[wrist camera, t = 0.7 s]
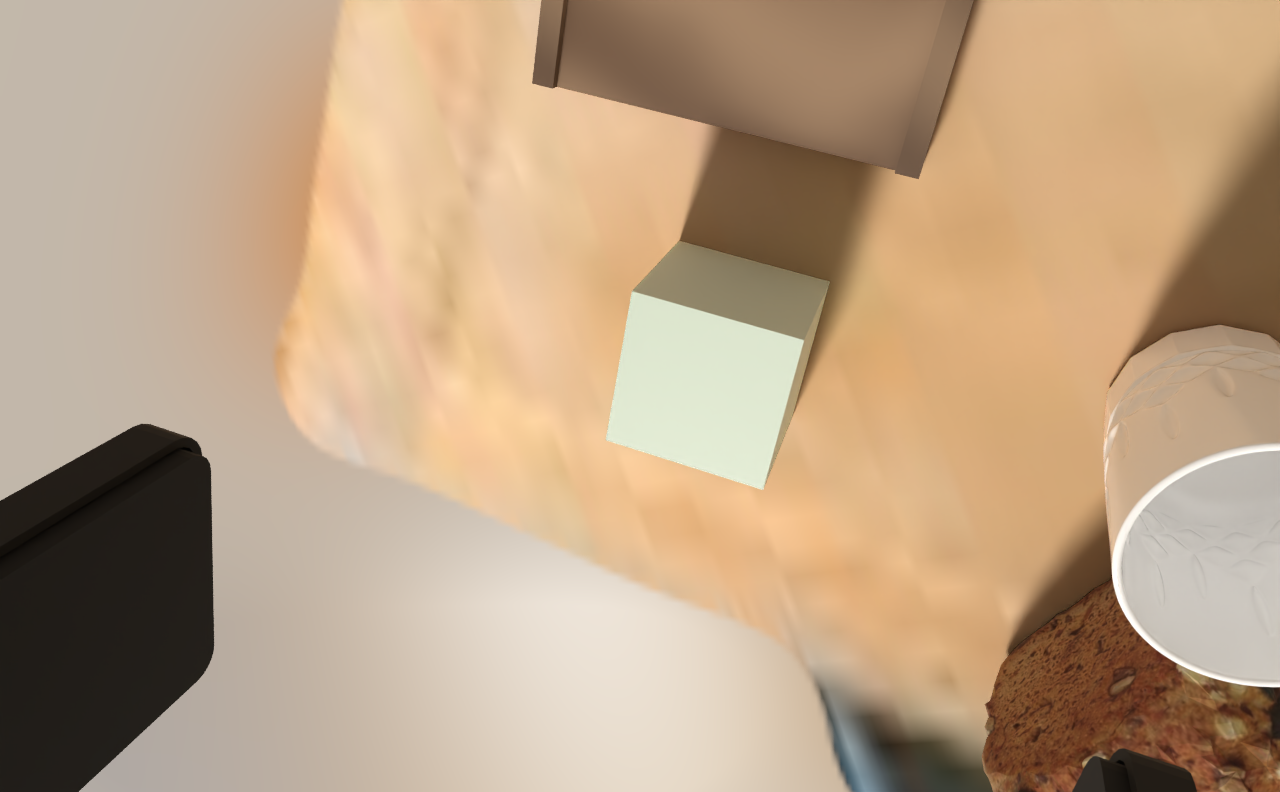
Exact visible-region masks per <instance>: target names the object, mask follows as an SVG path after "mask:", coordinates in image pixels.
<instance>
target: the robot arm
mask: <svg viewBox="0 0 1280 792" xmlns="http://www.w3.org/2000/svg"><path fill="white" fill-rule="evenodd" d="M212 562H213V561H212V506H211V468H210V463H209V462H208V460H207V458H205V457H203V456H202V452H201V448H200V446H199V444H198V443H197V442H196V441H195V440H193V439H192V438H189V437H186V436H184V435H180V434H177V433H175V432H172V431H169V430H166V429H163V428H159V427H156V426H154V425H151V424H140V425H137V426H135V427H132V428H130V429H128V430H127V431H125V432H123V433H121V434H120V435H118V436H116V437H114V438H112V439H111V440H109V441H107V442H105V443H104V444H102V445H100V446H98V447H96V448H95V449H93V450H91V451H89V452H87V453H85V454H84V455H82V456H80V457H78V458H76V459H75V460H73V461H71V462H69V463H67V464H66V465H64V466H62V467H60V468H59V469H57V470H55V471H53V472H51V473H50V474H48V475H46V476H44V477H42V478H41V479H39V480H37V481H35V482H34V483H32V484H30V485H28V486H26V487H25V488H23V489H21V490H19V491H17V492H15V493H14V494H12V495H10V496H8V497H6V498H5V499H3V500H1V501H0V792H79V791H80V790H81V789H82V788H83V787H84V786H85V785H86V784H87V783H88V782H89V781H90V780H91V779H93V778H94V777H95V776H96V775H97V774H98V773H99V772H100V771H101V770H102V769H103V768H104V767H105V766H106V765H108V764H109V763H110V762H111V761H112V760H113V759H114V758H115V757H116V756H117V755H118V754H119V753H120V752H122V751H123V750H124V749H125V748H126V747H127V746H128V745H129V744H130V743H131V742H132V741H133V740H134V739H135V738H137V737H138V736H139V735H140V734H141V733H142V732H143V731H144V730H145V729H146V728H147V727H148V726H150V725H151V724H152V723H153V722H154V721H155V720H156V719H157V718H158V717H159V716H160V715H161V714H162V713H163V712H165V711H166V710H167V709H168V708H169V707H170V706H171V705H172V704H173V703H174V702H175V701H176V700H177V699H179V697H181V696H182V695H183V694H184V693H185V692H186V691H187V690H188V689H189V688H190V687H191V686H192V685H193V684H194V683H196V682H197V681H198V680H199V678H200V677H201V676H202V675H203V674H204V672H205V671H206V669H207V667H208V665H209V663H210V661H211V658H212V654H213V650H214V617H213V565H212V564H213V563H212ZM1072 792H1197V790H1196V786H1195V782H1194V780H1193V777H1192V775H1191V773H1190V772H1189V771H1188V770H1186V769H1185V768H1182V767H1179V766H1176V765H1173V764H1170V763H1167V762H1164V761H1161V760H1158V759H1155V758H1152V757H1149V756H1146V755H1143V754H1140V753H1137V752H1134V751H1131V750H1128V749H1125V748H1122V749H1118V750H1117V751H1116V752H1115V753H1113V755H1112V756H1111V758H1110V760H1107V759H1104V758H1101V757H1098V756H1093V757H1092V758H1090V759H1089V761H1088V762H1087V764H1086V765H1085V767H1084V769H1083V771H1082V773H1081V775H1080V777H1079V779H1078V781H1077V783H1076V785H1075V787H1074V789H1073V791H1072Z"/></svg>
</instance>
